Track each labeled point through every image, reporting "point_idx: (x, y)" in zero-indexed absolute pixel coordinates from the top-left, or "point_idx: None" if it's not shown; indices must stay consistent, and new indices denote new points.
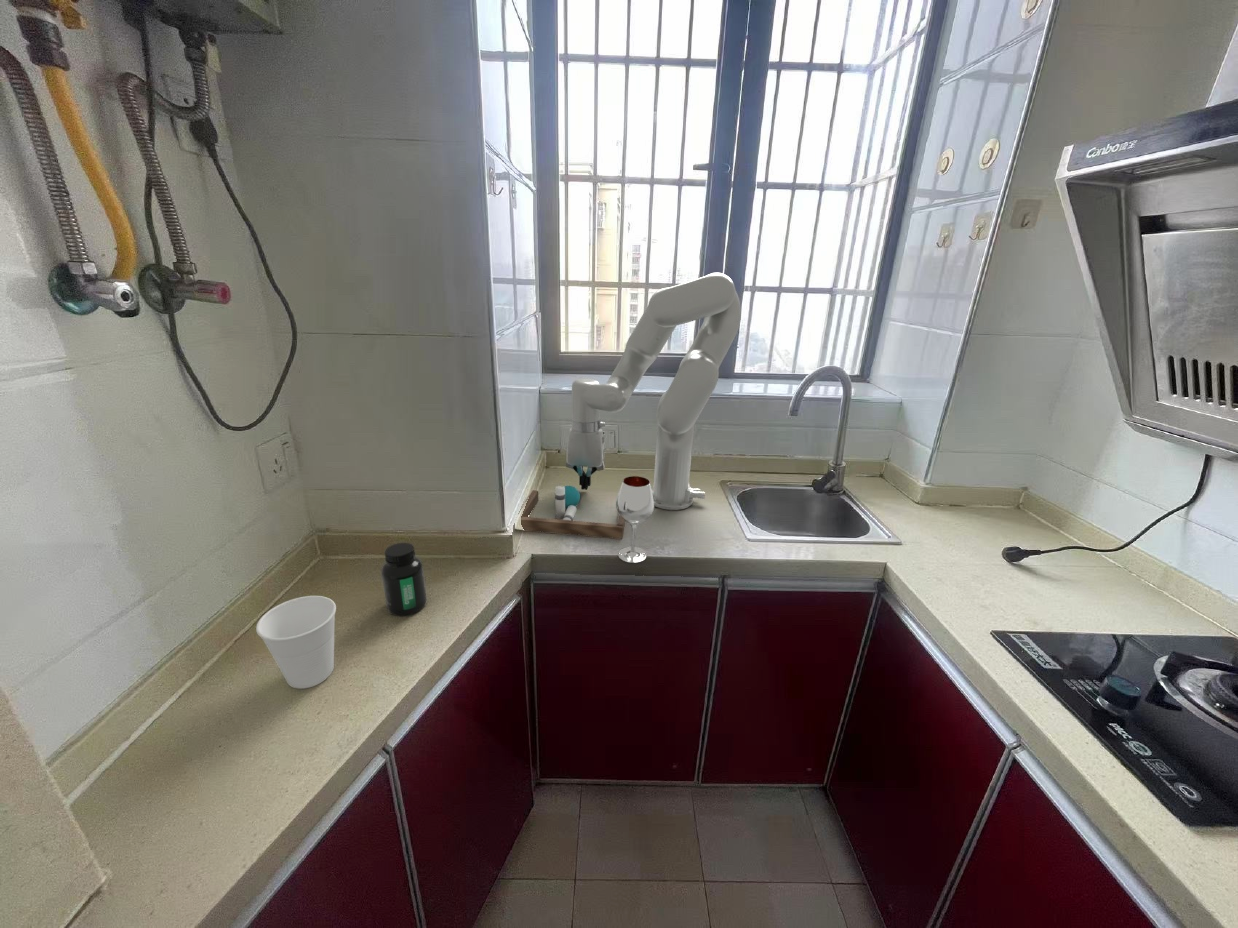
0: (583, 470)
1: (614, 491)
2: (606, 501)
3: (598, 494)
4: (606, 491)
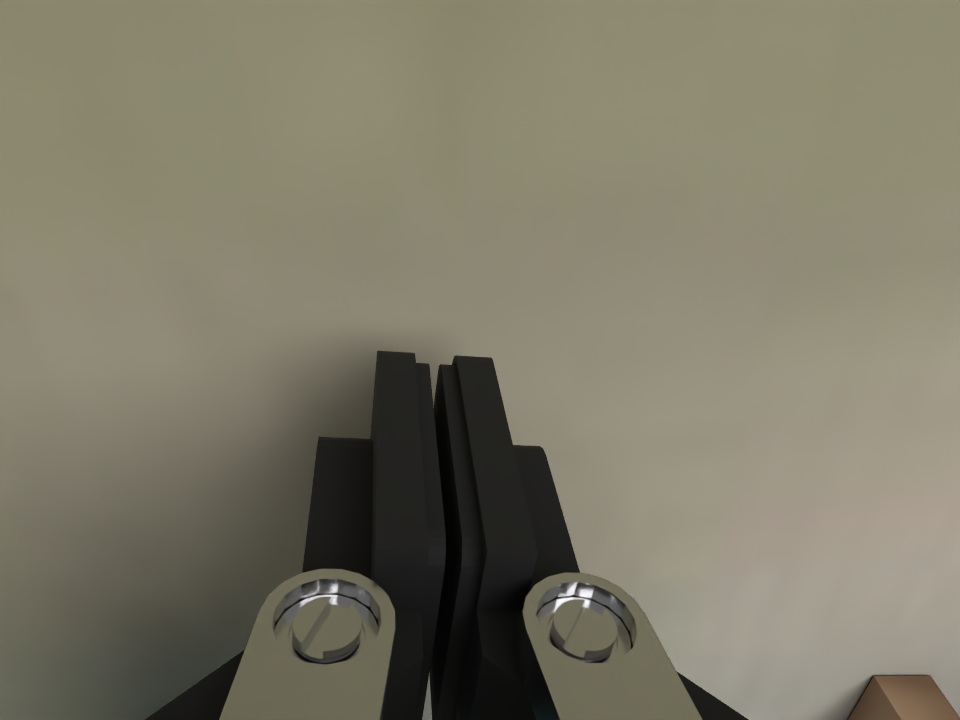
0: (386, 687)
1: (916, 295)
2: (720, 586)
3: (638, 421)
4: (784, 307)
